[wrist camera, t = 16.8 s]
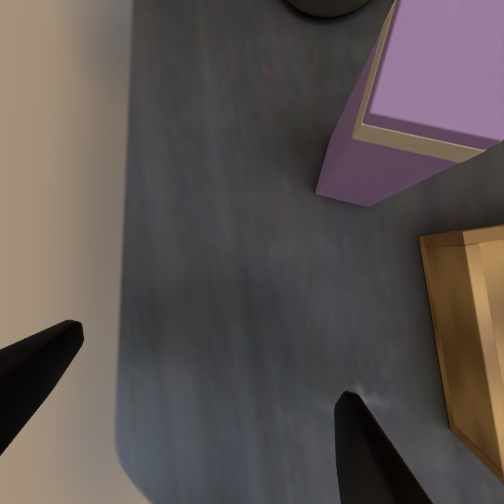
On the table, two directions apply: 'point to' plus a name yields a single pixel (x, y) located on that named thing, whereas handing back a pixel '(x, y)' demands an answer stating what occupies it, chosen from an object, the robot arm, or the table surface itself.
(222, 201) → the table surface
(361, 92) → the chocolate box
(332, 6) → the smart speaker
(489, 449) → the wooden tray
